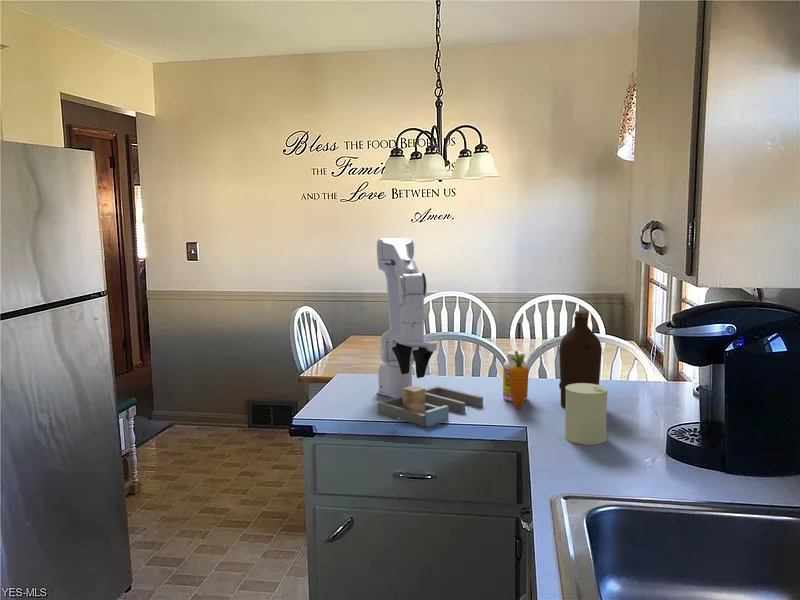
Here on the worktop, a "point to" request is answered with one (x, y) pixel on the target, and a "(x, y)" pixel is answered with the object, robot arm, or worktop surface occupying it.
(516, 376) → the carrot
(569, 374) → the olive oil
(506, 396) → the supplement bottle
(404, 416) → the gray divided frame
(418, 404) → the tan rectangular block
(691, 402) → the worktop surface
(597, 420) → the can
